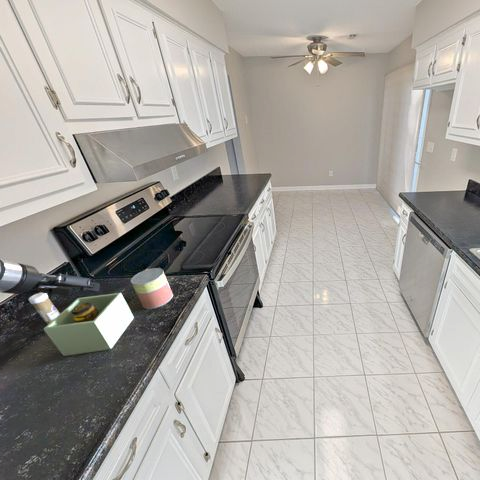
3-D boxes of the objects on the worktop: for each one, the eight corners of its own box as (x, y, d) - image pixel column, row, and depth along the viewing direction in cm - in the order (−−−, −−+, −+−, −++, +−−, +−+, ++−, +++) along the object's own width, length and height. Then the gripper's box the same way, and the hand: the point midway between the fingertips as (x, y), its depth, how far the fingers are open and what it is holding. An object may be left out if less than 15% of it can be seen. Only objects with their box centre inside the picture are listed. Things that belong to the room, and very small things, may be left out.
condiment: (79, 338, 86) (62, 311, 81) (105, 321, 93) (90, 295, 88) (95, 343, 84) (78, 316, 79) (119, 325, 91) (105, 298, 86)
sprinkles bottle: (63, 324, 96) (44, 296, 90) (47, 330, 93) (26, 301, 87) (65, 317, 99) (46, 290, 93) (50, 323, 97) (29, 295, 91)
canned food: (178, 296, 107) (168, 272, 101) (150, 312, 98) (138, 287, 93) (164, 288, 113) (155, 265, 107) (137, 302, 104) (125, 278, 99)
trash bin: (63, 356, 82) (43, 329, 77) (93, 323, 95) (77, 298, 90) (111, 349, 83) (94, 322, 78) (134, 317, 96) (121, 292, 91)
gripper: (-44, 298, 61) (47, 305, 82) (50, 286, 63) (116, 296, 84) (-35, 267, 63) (52, 282, 85) (56, 257, 65) (118, 274, 86)
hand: (84, 289), depth 84 cm, fingers open, 8 cm apart
